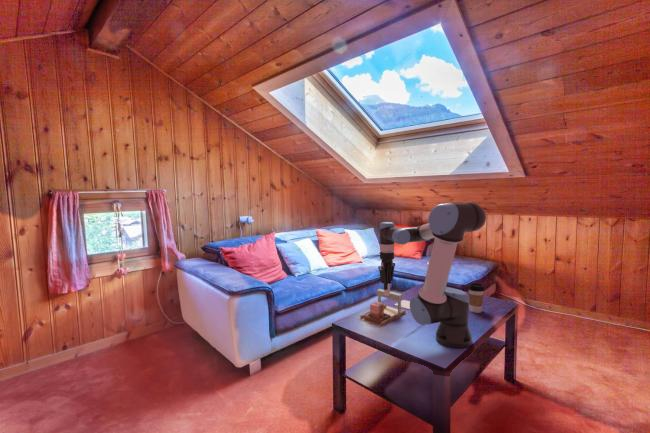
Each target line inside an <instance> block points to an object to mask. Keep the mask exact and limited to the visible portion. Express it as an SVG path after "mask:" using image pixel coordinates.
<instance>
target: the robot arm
mask: <svg viewBox="0 0 650 433" xmlns="http://www.w3.org/2000/svg"><path fill="white" fill-rule="evenodd" d="M428 215H429V216H428V220H427V223H424V224H421V225H418V226H410V227H395V223H394V222H391V221H383V222H380V223H379V259H380V261H381V262H380V265H378V267H377V269H378V271H379V277H380V283H381V284H383V290H384V295H386V296H390V291H391V284H393V281H394V280H393V279H394V272H395V267H396V263H395V262H394V259H395V244H396V245H406V244H408V243H415V242H418V243H419V242H420V243H421V242H427V241H431V239H434V241H433V244H432V248H431V253H430V257H429V261H428V262H429V265H428V268H427V270H426V274H425V279H424V283H423V286H422V287H420V288H419V289H418V292H417V296H416V297H415V296H413V297H412V298H411V299H410V300H409V301H410V310H409V311H410V313H411V316H412V318H413V319H414V320H415V322H416V323H417V324H419V325H420V326H427V325H429V326H430V325H431V324H432V325H433V324H437V323H438V327H437V329H436V331H435V340H436V341H437V342H438V343H439V344H441V345H442V346H445V347H449V348H452V349H466V348H469V347H471V346H472V344H473V338H472V334H471V331H470V328H469V310H470V304H469V293H467V292H465V290H464V291H463V290H461V289H457V288H454V287H453V288H451V287H447V284H448V280H449V277H450V274H451V273H450V272H451V269H452V265H453V263H454V262H453V261H454V257H455V254H456V250H457V246H458V244H460V243H461V242H463V241H464V236H465V234H466V233H473V232H476V231H478V230H480V229H482V228H483V227H484V226H485V223H486V221H487V213H486V210H485V209H484V208H483V207H482V206H481V205H479V204H478V203H475V202H472V201H471V202H470V201H468V202H453V203H452V202H445V203H440V204H437V205H435V206H434V207H432V209H431V211H430V213H429V214H428Z"/></svg>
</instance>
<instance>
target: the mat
mask: <svg viewBox="0 0 650 433" xmlns="http://www.w3.org/2000/svg"><path fill="white" fill-rule="evenodd" d="M394 305H395V307H398V302H396V303H393V306H394ZM401 309H404V310H405V309H406V310H409V311H410V300H406V299H402V300H401Z"/></svg>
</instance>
